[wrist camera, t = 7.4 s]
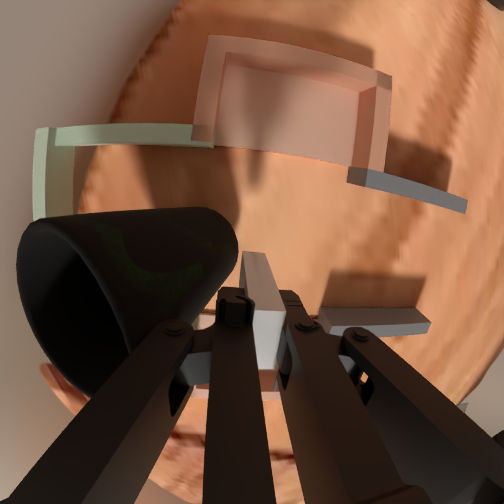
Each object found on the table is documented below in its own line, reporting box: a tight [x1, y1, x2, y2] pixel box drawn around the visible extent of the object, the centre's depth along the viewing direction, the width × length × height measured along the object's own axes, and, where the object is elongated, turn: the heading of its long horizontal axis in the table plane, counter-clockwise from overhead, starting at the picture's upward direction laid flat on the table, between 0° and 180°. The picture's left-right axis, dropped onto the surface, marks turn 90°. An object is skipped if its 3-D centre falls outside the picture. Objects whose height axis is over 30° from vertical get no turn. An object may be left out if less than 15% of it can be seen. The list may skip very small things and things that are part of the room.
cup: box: [16, 207, 239, 398], centre depth 13 cm, size 8×8×12 cm
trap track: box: [33, 35, 468, 401], centre depth 18 cm, size 33×28×4 cm
